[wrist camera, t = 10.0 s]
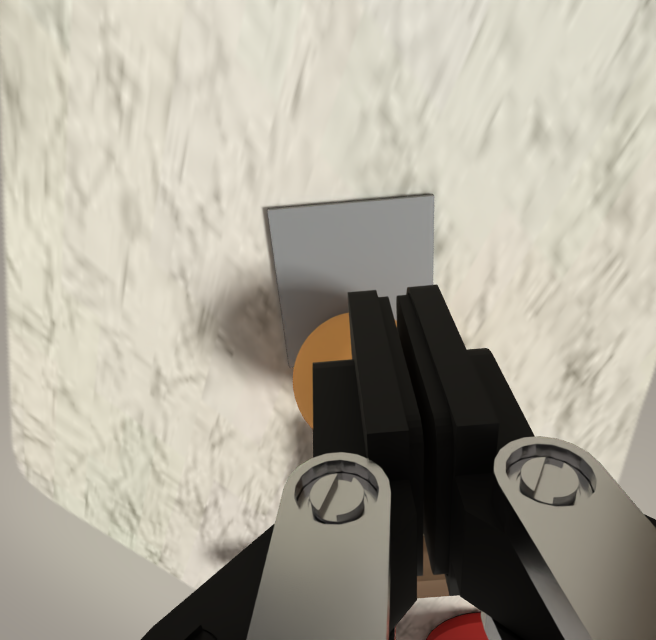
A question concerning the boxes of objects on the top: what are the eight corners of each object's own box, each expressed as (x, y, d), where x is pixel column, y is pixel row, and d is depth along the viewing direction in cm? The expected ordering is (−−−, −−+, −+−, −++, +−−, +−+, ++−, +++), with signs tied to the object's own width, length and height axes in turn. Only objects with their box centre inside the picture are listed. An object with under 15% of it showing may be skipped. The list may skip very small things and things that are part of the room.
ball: (298, 474, 25) (302, 364, 29) (432, 471, 25) (419, 360, 29) (280, 407, 21) (288, 285, 24) (445, 401, 20) (427, 279, 24)
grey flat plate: (267, 208, 24) (267, 210, 24) (433, 194, 24) (434, 195, 24) (289, 365, 28) (289, 367, 28) (431, 353, 28) (432, 355, 28)
